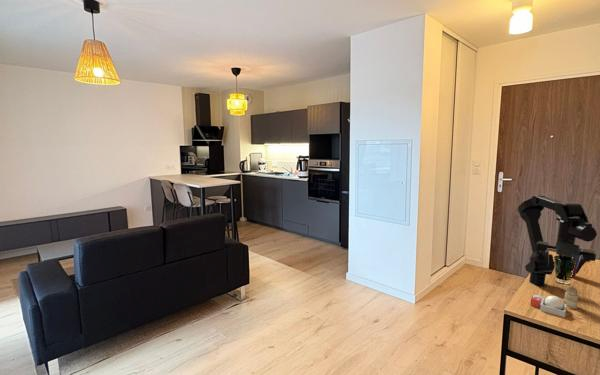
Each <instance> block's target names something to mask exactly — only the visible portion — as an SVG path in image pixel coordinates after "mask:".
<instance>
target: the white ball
mask: <svg viewBox="0 0 600 375" xmlns="http://www.w3.org/2000/svg"><path fill="white" fill-rule="evenodd" d="M545 298H546V299H545V304H544V305H545V306H549V307H552V308H556V309H560V310H562V308H563V303H564V301H562V299H561V298H559V297H558V296H556V295H548V296H547V297H545Z"/></svg>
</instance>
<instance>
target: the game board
mask: <svg viewBox="0 0 600 375" xmlns="http://www.w3.org/2000/svg"><path fill="white" fill-rule="evenodd" d="M533 296H535V297H538V298H541V305H540V308H539V311H540V312H544V313H547V314H551V315H555V316H558V317H561V318H565V317H566V311H567V308H568V309H571V308H570V307H567V306H566V305H567V304H564V302H563V308H562V309H561V310H560V309H556V308H552V307H549V306H546V305H545V299H546V298H547V297H545V296H544V295H543V296H542V295H541V294H540V295H539V294H533ZM572 309H577V308H572Z"/></svg>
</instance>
